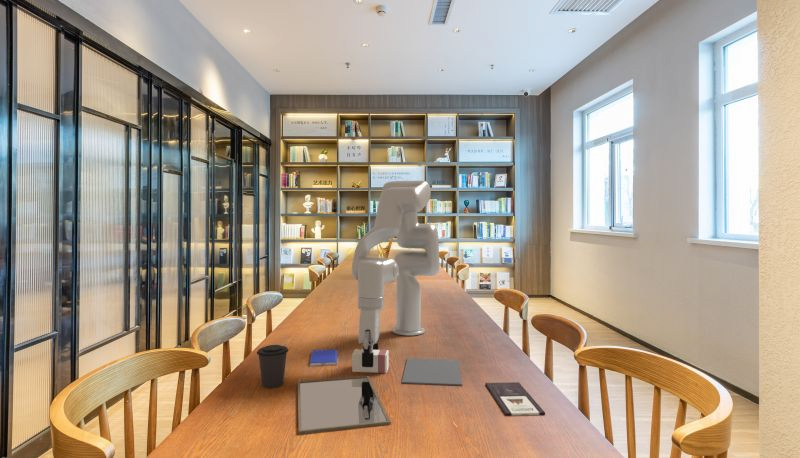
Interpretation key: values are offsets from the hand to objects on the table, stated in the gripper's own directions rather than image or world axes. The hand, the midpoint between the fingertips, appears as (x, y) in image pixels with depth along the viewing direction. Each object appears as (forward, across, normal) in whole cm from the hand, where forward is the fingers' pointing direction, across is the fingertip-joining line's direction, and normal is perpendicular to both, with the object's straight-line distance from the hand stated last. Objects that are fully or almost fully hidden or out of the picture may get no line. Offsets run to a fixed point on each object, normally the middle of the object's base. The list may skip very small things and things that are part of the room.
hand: (370, 361), depth 126 cm
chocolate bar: (+3, +17, +38) cm, 42 cm away
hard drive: (+3, -8, -16) cm, 18 cm away
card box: (+2, 0, 0) cm, 2 cm away
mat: (+2, 0, +18) cm, 18 cm away
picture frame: (+3, +23, -4) cm, 23 cm away
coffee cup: (+3, +14, -24) cm, 28 cm away
